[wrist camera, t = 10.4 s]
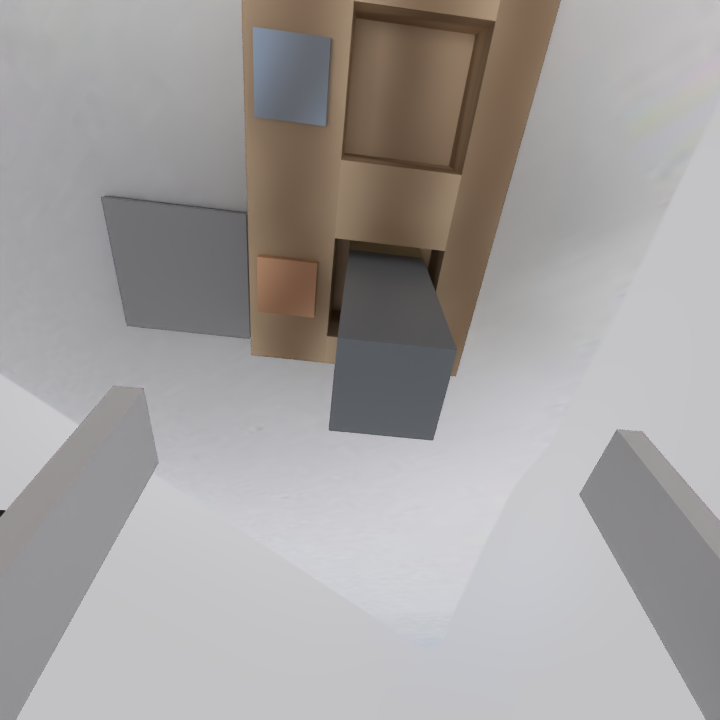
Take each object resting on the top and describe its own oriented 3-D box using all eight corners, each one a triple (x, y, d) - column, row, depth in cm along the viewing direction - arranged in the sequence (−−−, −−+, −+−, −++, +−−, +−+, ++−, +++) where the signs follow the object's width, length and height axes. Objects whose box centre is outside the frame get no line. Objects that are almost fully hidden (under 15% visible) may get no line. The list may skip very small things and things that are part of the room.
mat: (130, 323, 27) (126, 325, 27) (104, 196, 23) (101, 197, 23) (251, 336, 28) (249, 338, 27) (247, 213, 24) (245, 214, 23)
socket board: (266, 324, 27) (249, 358, 24) (263, -45, 18) (236, -86, 14) (444, 343, 28) (456, 380, 24) (532, -6, 19) (574, -35, 15)
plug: (344, 303, 26) (328, 430, 16) (350, 239, 24) (337, 337, 14) (407, 310, 26) (432, 440, 16) (419, 247, 24) (457, 350, 14)
